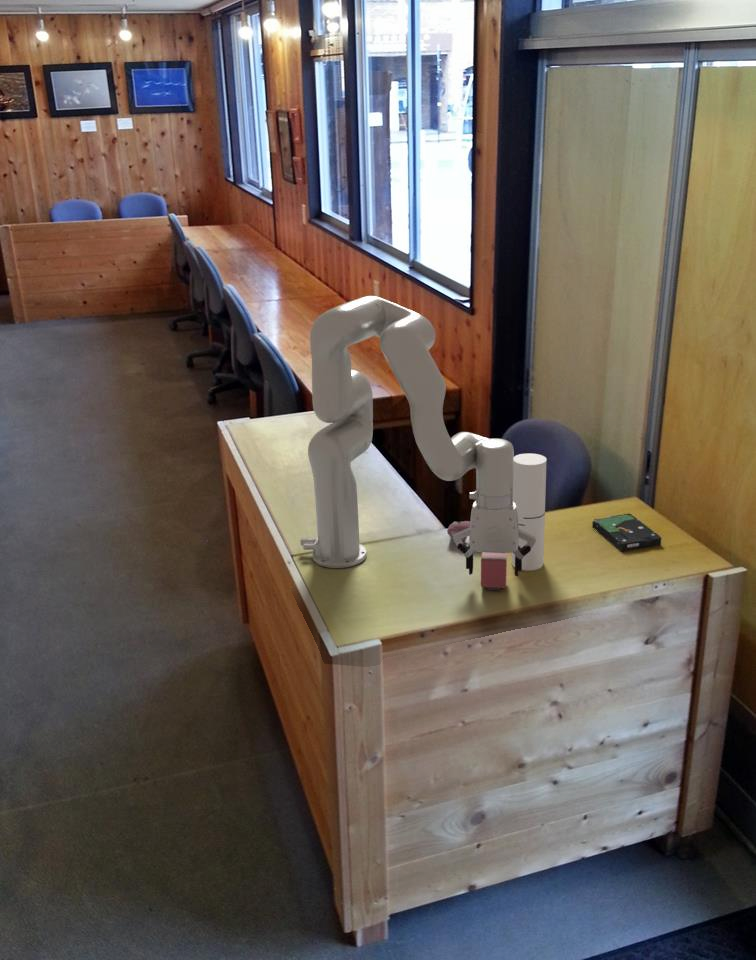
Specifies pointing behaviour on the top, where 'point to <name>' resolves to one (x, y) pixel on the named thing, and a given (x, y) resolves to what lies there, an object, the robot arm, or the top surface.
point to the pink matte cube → (493, 569)
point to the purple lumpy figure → (458, 528)
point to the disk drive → (626, 532)
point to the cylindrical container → (530, 505)
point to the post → (493, 588)
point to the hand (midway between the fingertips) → (493, 572)
